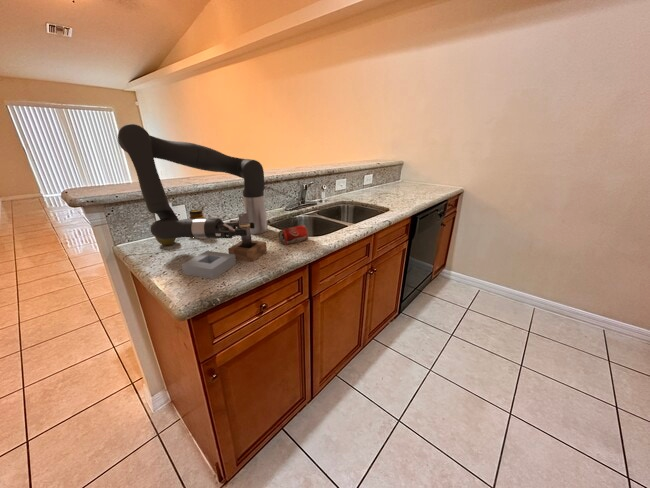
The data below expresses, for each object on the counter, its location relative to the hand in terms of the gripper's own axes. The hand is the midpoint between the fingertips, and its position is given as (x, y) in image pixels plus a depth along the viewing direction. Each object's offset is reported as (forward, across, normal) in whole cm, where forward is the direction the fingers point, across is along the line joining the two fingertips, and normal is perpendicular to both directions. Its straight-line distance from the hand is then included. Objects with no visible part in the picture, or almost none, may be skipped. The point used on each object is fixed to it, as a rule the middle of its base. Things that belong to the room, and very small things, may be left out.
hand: (250, 228), depth 97 cm
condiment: (-32, +20, +11) cm, 39 cm away
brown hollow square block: (-2, 0, +10) cm, 11 cm away
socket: (-11, -12, +10) cm, 19 cm away
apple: (-41, +10, +11) cm, 43 cm away
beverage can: (+13, +15, +11) cm, 22 cm away
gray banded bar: (-2, 0, +10) cm, 11 cm away
